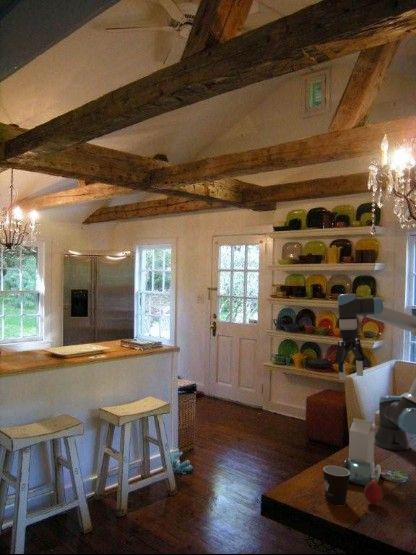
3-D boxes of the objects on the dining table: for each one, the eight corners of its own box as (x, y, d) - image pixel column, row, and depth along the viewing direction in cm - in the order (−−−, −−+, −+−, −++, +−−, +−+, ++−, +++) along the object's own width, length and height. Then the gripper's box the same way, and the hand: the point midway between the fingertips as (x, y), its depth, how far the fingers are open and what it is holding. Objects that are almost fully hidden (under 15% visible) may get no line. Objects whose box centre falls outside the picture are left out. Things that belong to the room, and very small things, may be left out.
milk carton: (366, 475, 165) (368, 423, 166) (348, 469, 169) (349, 419, 170) (373, 470, 170) (374, 420, 171) (355, 464, 175) (356, 416, 176)
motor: (349, 466, 178) (349, 447, 179) (380, 473, 173) (381, 453, 173) (339, 483, 161) (340, 462, 162) (374, 491, 156) (374, 469, 156)
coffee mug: (350, 509, 141) (351, 477, 142) (322, 505, 143) (323, 473, 143) (346, 493, 152) (347, 464, 153) (320, 490, 154) (321, 461, 155)
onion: (372, 509, 141) (373, 484, 142) (359, 501, 147) (360, 477, 147) (386, 507, 144) (387, 482, 144) (373, 499, 149) (373, 475, 149)
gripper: (356, 327, 206) (359, 373, 204) (324, 330, 190) (327, 380, 188) (371, 327, 200) (374, 374, 198) (339, 330, 184) (342, 382, 182)
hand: (351, 377), depth 193 cm, fingers open, 13 cm apart
